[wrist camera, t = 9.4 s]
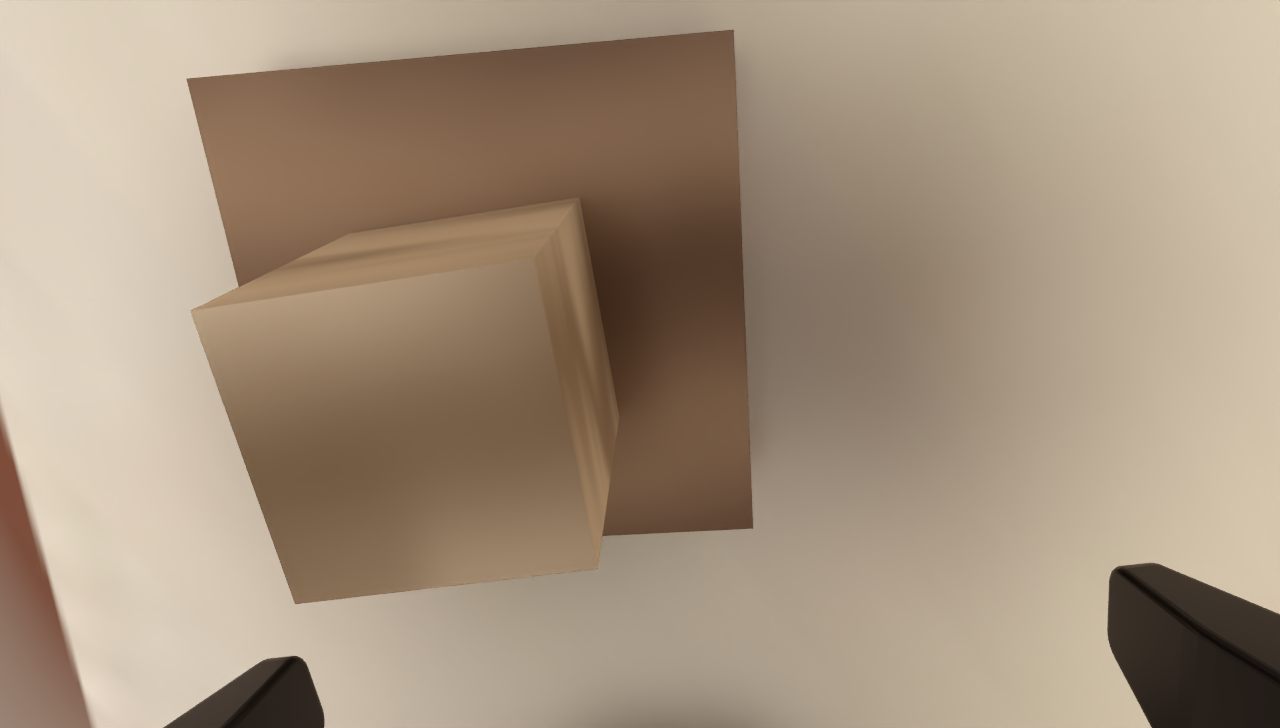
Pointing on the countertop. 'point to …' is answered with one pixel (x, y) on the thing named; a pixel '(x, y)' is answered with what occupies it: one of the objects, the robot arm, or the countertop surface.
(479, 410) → the maple block
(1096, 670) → the countertop surface
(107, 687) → the countertop surface
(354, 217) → the walnut block
